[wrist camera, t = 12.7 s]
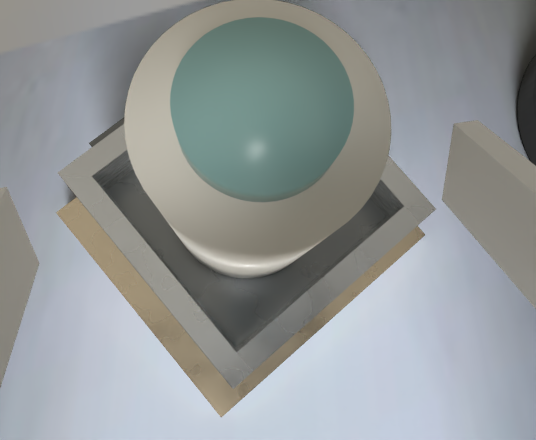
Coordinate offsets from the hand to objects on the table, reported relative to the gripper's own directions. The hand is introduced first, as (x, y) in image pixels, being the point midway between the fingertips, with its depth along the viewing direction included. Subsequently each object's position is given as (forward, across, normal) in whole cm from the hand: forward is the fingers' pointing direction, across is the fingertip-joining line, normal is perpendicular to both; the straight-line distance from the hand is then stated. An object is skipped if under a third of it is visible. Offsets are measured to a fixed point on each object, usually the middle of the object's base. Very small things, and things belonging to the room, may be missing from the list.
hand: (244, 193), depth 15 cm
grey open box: (+13, +1, -11) cm, 17 cm away
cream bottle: (+7, +1, -5) cm, 9 cm away
